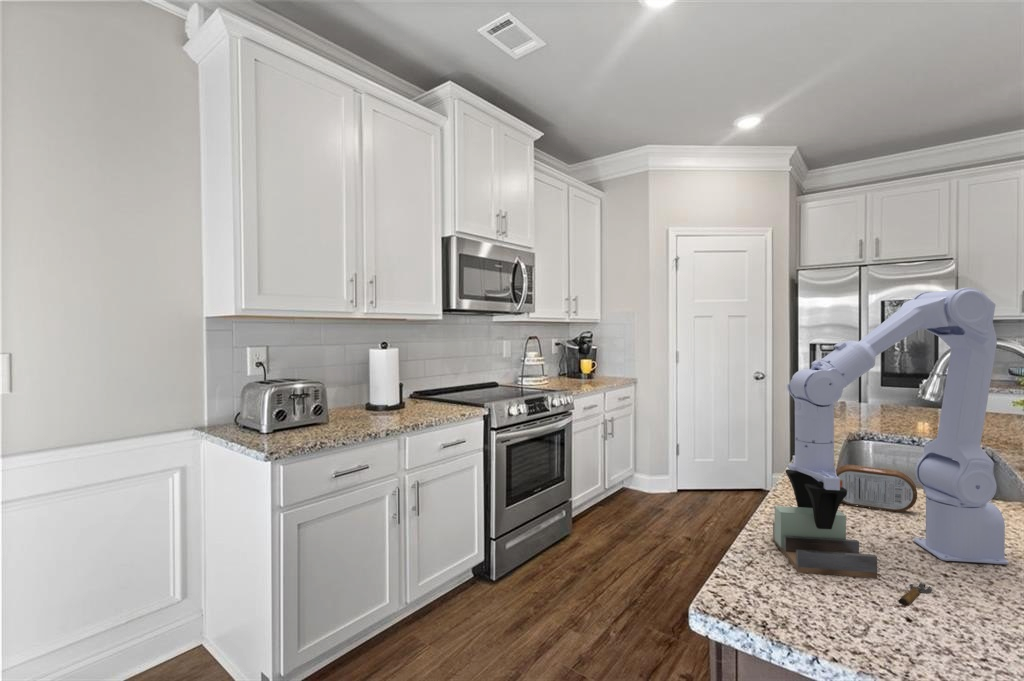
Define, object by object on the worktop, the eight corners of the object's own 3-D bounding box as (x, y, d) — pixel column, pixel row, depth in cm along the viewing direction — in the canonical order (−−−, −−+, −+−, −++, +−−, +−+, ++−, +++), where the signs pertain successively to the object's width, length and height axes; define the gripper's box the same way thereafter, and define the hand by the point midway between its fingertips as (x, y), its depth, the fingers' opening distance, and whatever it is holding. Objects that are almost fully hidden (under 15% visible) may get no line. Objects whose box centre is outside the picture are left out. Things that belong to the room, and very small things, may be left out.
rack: (841, 545, 88) (841, 526, 88) (877, 578, 76) (877, 556, 76) (773, 540, 90) (773, 522, 90) (798, 572, 78) (798, 551, 78)
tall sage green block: (774, 539, 88) (774, 505, 88) (837, 543, 87) (837, 509, 87) (780, 547, 85) (780, 512, 85) (845, 551, 84) (846, 515, 83)
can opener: (907, 608, 68) (907, 600, 68) (887, 601, 70) (887, 592, 70) (937, 591, 73) (937, 583, 73) (918, 584, 75) (918, 577, 75)
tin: (916, 512, 104) (916, 471, 104) (918, 516, 101) (918, 475, 101) (830, 499, 112) (830, 461, 112) (830, 503, 109) (830, 465, 109)
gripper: (774, 431, 93) (775, 504, 94) (804, 449, 79) (805, 535, 79) (816, 432, 92) (816, 506, 92) (854, 450, 78) (854, 537, 78)
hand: (814, 519), depth 86 cm, fingers open, 7 cm apart
